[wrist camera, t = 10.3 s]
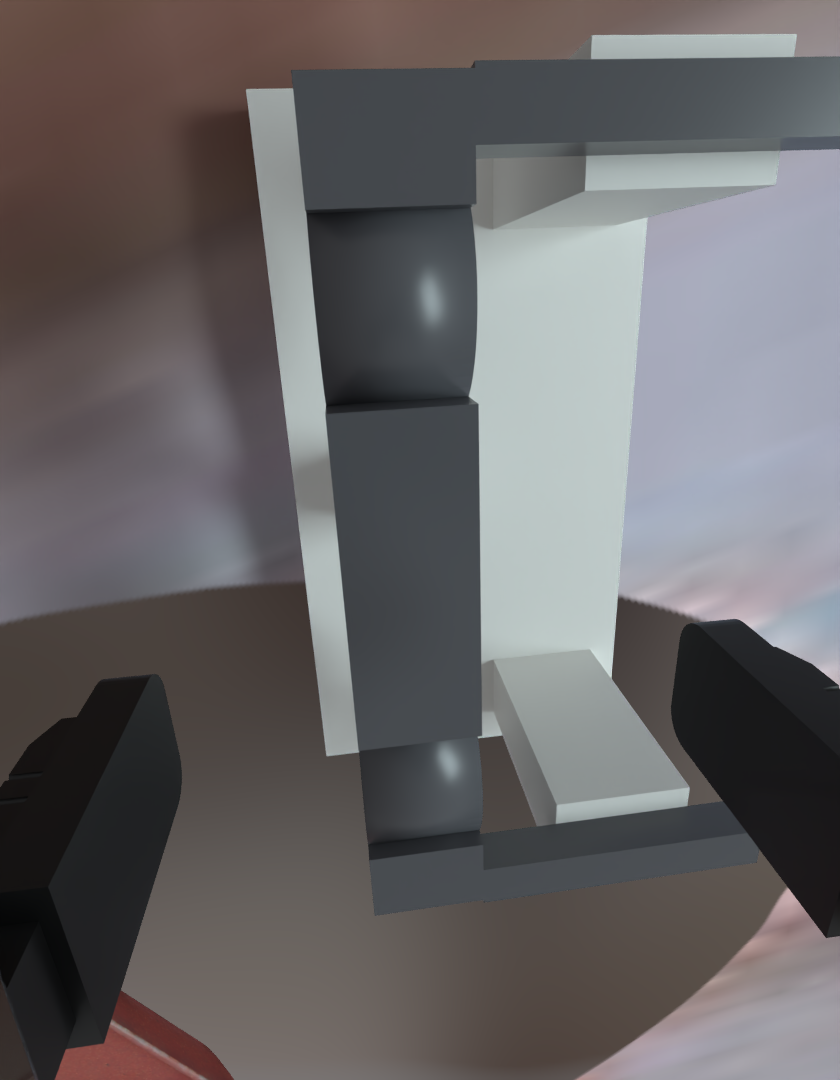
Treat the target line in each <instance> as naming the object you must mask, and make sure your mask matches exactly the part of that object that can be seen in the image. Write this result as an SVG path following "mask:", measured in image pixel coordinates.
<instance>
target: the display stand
mask: <svg viewBox="0 0 840 1080" xmlns="http://www.w3.org/2000/svg"><path fill="white" fill-rule="evenodd" d="M796 38H797V34H722V35H592V36H591V37H590V38H589V39H588V40H587V41H586V42H585V43H584V44H583V45H582V46H581V47H580V48H579V49H578V50H577V51H576V52H575V53H574V54H573V55H572V56H571V57H570V58H569V59H568V60H573V59H663V58H754V57H794V52H795V45H796ZM246 94H247V102H248V110H249V118H250V127H251V135H252V143H253V152H254V160H255V168H256V176H257V185H258V193H259V201H260V209H261V218H262V226H263V234H264V243H265V251H266V259H267V267H268V276H269V284H270V292H271V301H272V309H273V317H274V325H275V334H276V342H277V350H278V359H279V367H280V375H281V383H282V392H283V400H284V408H285V417H286V425H287V433H288V441H289V450H290V458H291V466H292V475H293V483H294V491H295V499H296V508H297V516H298V524H299V532H300V541H301V549H302V557H303V566H304V574H305V582H306V590H307V599H308V607H309V615H310V624H311V632H312V640H313V648H314V657H315V665H316V673H317V681H318V689H319V698H320V706H321V715H322V723H323V731H324V739H325V747H326V755H327V756H331V755H340V754H349V753H356V752H359V751H358V741H357V731H356V721H355V710H354V700H353V690H352V680H351V670H350V660H349V650H348V640H347V629H346V619H345V609H344V599H343V589H342V579H341V569H340V559H339V549H338V538H337V528H336V518H335V508H334V498H333V488H332V478H331V468H330V457H329V447H328V437H327V427H326V417H325V411H326V403H325V395H324V388H323V379H322V371H321V362H320V353H319V344H318V335H317V325H316V315H315V306H314V295H313V285H312V274H311V264H310V252H309V241H308V229H307V216H306V211H305V204H304V194H303V184H302V174H301V164H300V154H299V144H298V134H297V123H296V113H295V103H294V93H293V88H287V89H246ZM779 157H780V151H747V152H710V153H673V154H636V155H598V156H561V157H524V158H486V159H476V201H477V204H476V205H474V206H473V207H471V212H472V219H473V227H474V237H475V249H476V265H477V339H476V354H475V364H474V372H473V379H472V385H471V389H470V393H469V397H470V398H471V399H473V400H474V401H475V402H477V403H478V404H479V486H480V581H481V676H482V736H479V737H478V738H483V737H491V736H500V735H503V738H504V740H505V743H506V745H507V748H508V751H509V753H510V756H511V759H512V761H513V763H514V766H515V769H516V772H517V774H518V777H519V780H520V782H521V785H522V787H523V790H524V793H525V795H526V798H527V800H528V803H529V806H530V808H531V811H532V814H533V816H534V819H535V822H536V824H537V826H544V825H551V824H559V823H566V822H574V821H581V820H588V819H596V818H603V817H611V816H618V815H625V814H633V813H640V812H648V811H655V810H662V809H670V808H677V807H685V806H687V803H688V796H689V789H690V787H689V786H688V785H687V783H686V782H685V780H684V779H683V778H682V776H681V775H680V774H679V772H678V771H677V769H676V768H675V767H674V765H673V764H672V762H671V761H670V760H669V758H668V757H667V755H666V754H665V753H664V751H663V750H662V749H661V747H660V746H659V744H658V743H657V742H656V740H655V739H654V737H653V736H652V735H651V733H650V732H649V731H648V729H647V728H646V726H645V725H644V723H643V722H642V721H641V720H640V718H639V717H638V715H637V714H636V712H635V711H634V710H633V708H632V707H631V706H630V704H629V703H628V701H627V700H626V699H625V697H624V696H623V694H622V693H621V692H620V690H619V689H618V687H617V686H616V685H615V683H614V682H613V681H612V679H611V675H612V661H613V649H614V636H615V624H616V611H617V598H618V586H619V573H620V560H621V547H622V535H623V522H624V509H625V496H626V484H627V471H628V458H629V446H630V433H631V420H632V407H633V395H634V382H635V369H636V356H637V344H638V331H639V318H640V306H641V293H642V280H643V267H644V255H645V242H646V229H647V217H651V216H655V215H659V214H662V213H666V212H670V211H674V210H678V209H682V208H686V207H690V206H694V205H698V204H702V203H706V202H710V201H714V200H718V199H722V198H726V197H730V196H734V195H738V194H741V193H745V192H749V191H753V190H757V189H761V188H765V187H769V186H773V185H776V178H777V171H778V164H779Z"/></svg>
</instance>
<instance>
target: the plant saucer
mask: <svg viewBox="0 0 840 1080" xmlns="http://www.w3.org/2000/svg"><path fill="white" fill-rule="evenodd" d="M55 1080H234V1079H233V1078H232V1076H231V1075H230V1073H229V1072H228V1071H227V1069H226V1068H225V1067H224V1066H223V1064H222V1063H221V1062H220V1060H219V1059H218V1058H217V1057H216V1055H215V1054H214V1053H212V1051H211V1050H210V1049H209V1048H208V1047H207V1046H205V1045H204V1044H203V1043H201V1042H200V1041H198V1040H197V1039H195V1038H193V1037H192V1036H190V1035H189V1034H187V1033H186V1032H184V1031H183V1030H181V1029H179V1028H178V1027H176V1026H175V1025H173V1024H172V1023H170V1022H169V1021H167V1020H166V1019H164V1018H163V1017H161V1016H160V1015H158V1014H157V1013H155V1012H154V1011H152V1010H150V1009H149V1008H147V1007H146V1006H144V1005H143V1004H141V1003H140V1002H138V1001H137V1000H135V999H134V998H132V997H130V996H129V995H127V994H126V993H124V992H123V991H120V994H119V997H118V1000H117V1004H116V1007H115V1010H114V1013H113V1016H112V1020H111V1023H110V1026H109V1029H108V1032H107V1036H106V1039H105V1042H104V1044H98V1045H91V1046H85V1047H78V1048H71V1049H66V1050H65V1053H64V1056H63V1059H62V1061H61V1064H60V1067H59V1070H58V1072H57V1075H56V1078H55Z"/></svg>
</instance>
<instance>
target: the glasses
mask: <svg viewBox="0 0 840 1080" xmlns="http://www.w3.org/2000/svg"><path fill="white" fill-rule="evenodd" d="M291 73H292V83H293V93H294V103H295V113H296V123H297V134H298V144H299V154H300V164H301V174H302V184H303V194H304V204H305V211H306V216H307V229H308V241H309V252H310V264H311V274H312V285H313V295H314V306H315V315H316V325H317V335H318V344H319V353H320V362H321V371H322V379H323V388H324V395H325V403H326V411H325V417H326V427H327V437H328V447H329V457H330V468H331V478H332V488H333V498H334V508H335V518H336V528H337V538H338V549H339V559H340V569H341V579H342V589H343V599H344V609H345V619H346V629H347V640H348V650H349V660H350V670H351V680H352V690H353V700H354V710H355V721H356V731H357V741H358V751H359V755H360V767H361V779H362V789H363V800H364V810H365V811H364V812H365V822H366V831H367V839H368V847H369V862H370V872H371V882H372V892H373V903H374V913H375V916H376V915H383V914H390V913H396V912H404V911H411V910H417V909H424V908H431V907H438V906H445V905H451V904H459V903H465V902H471V901H479V900H483V901H484V902H490V901H497V900H503V899H511V898H518V897H525V896H531V895H538V894H544V893H552V892H559V891H566V890H572V889H579V888H585V887H593V886H600V885H607V884H613V883H620V882H627V881H634V880H641V879H648V878H654V877H661V876H667V875H675V874H682V873H689V872H696V871H702V870H709V869H716V868H723V867H730V866H736V865H743V864H750V863H756V862H757V858H758V853H759V848H758V847H757V845H756V844H755V843H754V841H753V840H752V839H751V837H750V836H749V835H748V833H747V832H746V831H745V829H744V828H743V827H742V825H741V824H740V823H739V821H738V820H737V819H736V817H735V816H734V815H733V814H732V812H731V811H730V810H729V808H728V807H727V806H726V804H725V803H724V802H715V803H707V804H699V805H692V806H685V807H677V808H670V809H662V810H655V811H648V812H640V813H633V814H625V815H618V816H611V817H603V818H596V819H588V820H581V821H574V822H566V823H559V824H551V825H544V826H537V827H530V828H522V829H514V830H507V831H500V832H492V833H486V834H480V831H479V830H480V828H481V824H482V814H483V792H482V790H483V789H482V774H481V762H480V752H479V743H478V737H479V736H482V676H481V581H480V486H479V404H478V403H477V402H475V401H474V400H473V399H471V398H470V397H469V393H470V389H471V385H472V379H473V372H474V364H475V354H476V339H477V265H476V249H475V237H474V227H473V219H472V212H471V207H473V206H474V205H476V204H477V201H476V159H486V158H524V157H561V156H598V155H636V154H673V153H710V152H747V151H785V150H822V149H840V57H754V58H663V59H573V60H482V61H474V63H473V65H472V67H471V68H425V69H344V70H291Z"/></svg>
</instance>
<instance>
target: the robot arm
mask: <svg viewBox="0 0 840 1080" xmlns="http://www.w3.org/2000/svg"><path fill="white" fill-rule="evenodd" d="M671 715H672V721H673V726H674V730H675V733H676V736H677V738H678V740H679V742H680V744H681V745H682V747H683V748H684V750H685V751H686V752H687V754H688V755H689V756H690V758H691V759H692V760H693V762H694V763H695V764H696V766H697V767H698V768H699V770H700V771H701V772H702V774H703V775H704V776H705V778H707V780H708V782H709V783H710V784H711V786H712V787H713V788H714V790H715V791H716V792H717V794H718V795H719V796H720V797H721V799H722V800H723V802H724V803H725V804H726V806H727V807H728V808H729V810H730V811H731V812H732V814H733V815H734V816H735V817H736V819H737V820H738V821H739V823H740V824H741V825H742V827H743V828H744V829H745V831H746V832H747V833H748V835H749V836H750V837H751V839H752V840H753V841H754V843H755V844H756V845H757V847H758V848H759V849H760V850H761V852H762V853H763V855H764V856H765V857H766V859H767V860H768V861H769V863H770V864H771V865H772V867H773V868H774V869H775V871H776V872H777V873H778V875H779V876H780V877H781V879H782V880H783V881H784V882H785V884H786V885H787V887H788V888H789V889H790V891H791V892H792V893H793V895H794V896H795V897H796V899H797V900H798V901H799V903H800V904H801V905H802V907H803V908H804V909H805V910H806V912H807V913H808V914H809V916H810V917H811V918H812V920H813V921H814V922H815V924H816V925H817V926H818V928H819V929H820V930H821V932H822V933H823V934H824V936H825V937H826V938H829V937H836V936H840V689H839V685H838V684H836V683H835V682H834V681H833V680H831V679H830V678H829V677H828V676H826V675H825V674H824V673H823V672H821V671H820V670H819V669H817V668H816V667H815V666H814V665H812V664H811V663H809V662H807V661H805V660H802V659H800V658H798V657H796V656H794V655H792V654H790V653H788V652H786V651H784V650H781V649H779V648H777V647H773V646H772V645H770V644H769V643H768V642H767V641H766V640H764V639H763V638H762V637H761V636H759V635H758V634H757V633H756V632H755V631H753V630H752V629H751V628H750V627H748V626H747V625H746V624H745V623H743V622H742V621H740V620H738V619H730V620H719V621H709V622H699V623H690V624H688V625H686V626H685V627H684V629H683V630H682V633H681V637H680V643H679V650H678V658H677V666H676V673H675V681H674V689H673V696H672V705H671ZM181 784H182V770H181V761H180V755H179V751H178V746H177V742H176V738H175V733H174V728H173V725H172V720H171V715H170V711H169V706H168V702H167V697H166V693H165V689H164V685H163V683H162V680H161V678H160V677H159V676H158V675H156V674H152V675H142V676H131V677H121V678H111V679H103V680H101V681H100V682H99V683H98V684H97V685H96V687H95V688H94V690H93V692H92V693H91V695H90V696H89V698H88V700H87V702H86V703H85V705H84V706H83V708H82V709H81V711H80V713H79V715H78V716H77V717H74V718H65V719H61V720H59V721H58V722H57V723H56V724H55V725H53V726H52V727H51V728H50V729H48V730H47V731H46V732H45V733H43V734H42V735H41V736H40V737H38V738H37V739H36V740H35V741H34V742H32V743H31V744H30V745H29V746H28V747H27V749H26V751H25V752H24V753H23V755H22V756H21V758H20V759H19V761H18V762H17V764H16V765H15V767H14V768H13V770H12V771H11V773H10V774H9V780H8V781H5V782H4V783H3V784H2V786H1V787H0V1080H55V1078H56V1075H57V1072H58V1070H59V1067H60V1064H61V1061H62V1059H63V1056H64V1053H65V1050H66V1049H71V1048H78V1047H85V1046H91V1045H98V1044H104V1042H105V1039H106V1036H107V1032H108V1029H109V1026H110V1023H111V1020H112V1016H113V1013H114V1010H115V1007H116V1004H117V1000H118V997H119V994H120V991H121V987H122V984H123V981H124V978H125V975H126V971H127V968H128V965H129V962H130V958H131V955H132V952H133V949H134V946H135V942H136V939H137V936H138V933H139V929H140V926H141V923H142V920H143V917H144V913H145V910H146V907H147V904H148V901H149V897H150V894H151V891H152V888H153V884H154V881H155V878H156V875H157V872H158V868H159V865H160V862H161V859H162V855H163V852H164V849H165V846H166V843H167V839H168V836H169V833H170V830H171V826H172V823H173V820H174V817H175V814H176V810H177V807H178V804H179V800H180V794H181Z"/></svg>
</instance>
